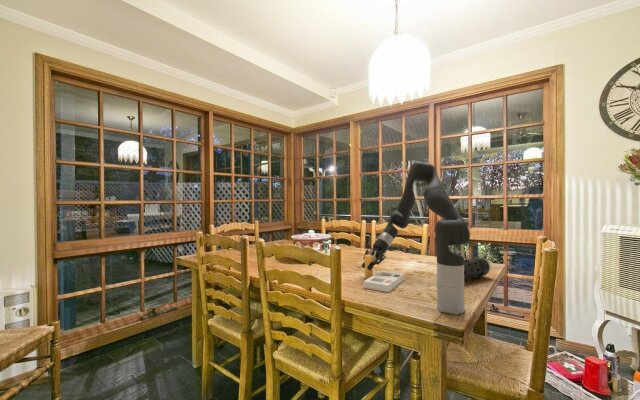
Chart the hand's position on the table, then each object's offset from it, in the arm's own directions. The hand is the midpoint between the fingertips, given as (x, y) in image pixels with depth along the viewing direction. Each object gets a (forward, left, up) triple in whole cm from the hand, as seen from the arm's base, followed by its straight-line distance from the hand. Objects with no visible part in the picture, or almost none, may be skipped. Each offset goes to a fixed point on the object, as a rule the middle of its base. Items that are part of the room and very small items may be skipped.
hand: (365, 268), depth 144 cm
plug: (+2, -1, -6) cm, 6 cm away
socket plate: (-2, -11, -6) cm, 12 cm away
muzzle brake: (+25, -43, -6) cm, 50 cm away
